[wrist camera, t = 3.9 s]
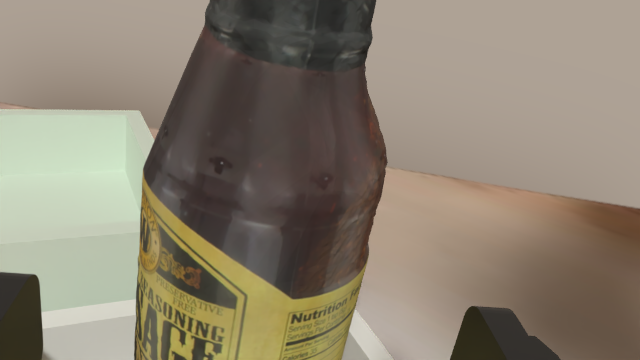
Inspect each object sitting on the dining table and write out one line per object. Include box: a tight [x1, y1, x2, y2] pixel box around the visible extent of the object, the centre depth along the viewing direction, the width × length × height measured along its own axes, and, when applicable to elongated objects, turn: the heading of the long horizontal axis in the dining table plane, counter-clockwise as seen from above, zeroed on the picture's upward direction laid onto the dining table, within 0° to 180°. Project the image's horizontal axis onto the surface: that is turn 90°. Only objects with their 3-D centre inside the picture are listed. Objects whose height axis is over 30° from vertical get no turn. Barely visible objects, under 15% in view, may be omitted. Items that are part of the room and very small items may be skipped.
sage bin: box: [0, 109, 154, 312], centre depth 29 cm, size 16×16×5 cm
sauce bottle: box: [134, 0, 387, 360], centre depth 15 cm, size 6×6×20 cm
